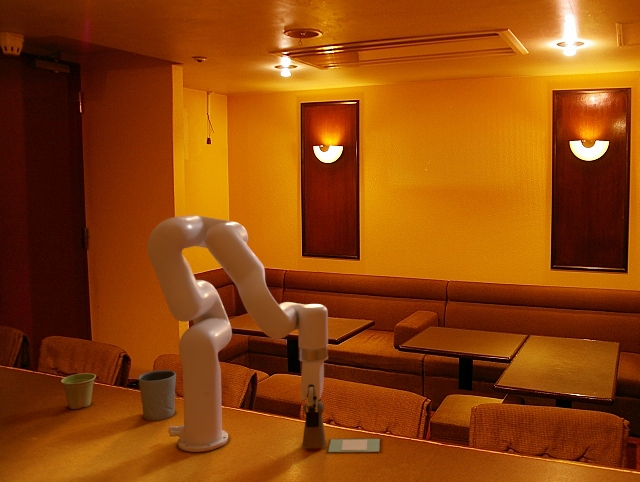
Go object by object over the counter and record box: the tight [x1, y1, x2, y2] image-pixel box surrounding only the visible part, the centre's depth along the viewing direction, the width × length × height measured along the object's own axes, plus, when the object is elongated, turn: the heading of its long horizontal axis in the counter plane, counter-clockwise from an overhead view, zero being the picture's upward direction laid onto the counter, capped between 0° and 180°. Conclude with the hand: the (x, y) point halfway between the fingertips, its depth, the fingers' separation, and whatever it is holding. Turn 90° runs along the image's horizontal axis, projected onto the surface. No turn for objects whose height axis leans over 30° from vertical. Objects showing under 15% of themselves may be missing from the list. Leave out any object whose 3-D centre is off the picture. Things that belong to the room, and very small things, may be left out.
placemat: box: [327, 438, 381, 454], centre depth 157 cm, size 13×8×1 cm, turn 91°
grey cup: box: [138, 369, 177, 421], centre depth 178 cm, size 10×10×12 cm
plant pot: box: [60, 372, 97, 410], centre depth 186 cm, size 9×9×9 cm
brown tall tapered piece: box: [302, 400, 327, 449], centre depth 157 cm, size 6×6×11 cm
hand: (314, 421), depth 157 cm, fingers closed on brown tall tapered piece, 5 cm apart
